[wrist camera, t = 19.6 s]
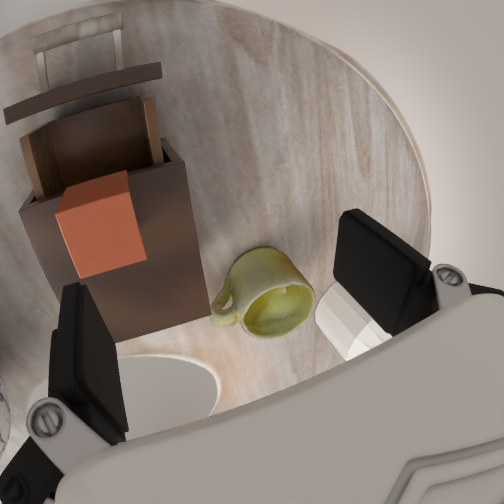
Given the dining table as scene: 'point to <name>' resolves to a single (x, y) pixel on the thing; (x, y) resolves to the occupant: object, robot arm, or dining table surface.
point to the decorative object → (347, 323)
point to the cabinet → (141, 273)
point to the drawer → (88, 118)
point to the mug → (264, 295)
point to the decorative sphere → (4, 418)
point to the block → (101, 224)
